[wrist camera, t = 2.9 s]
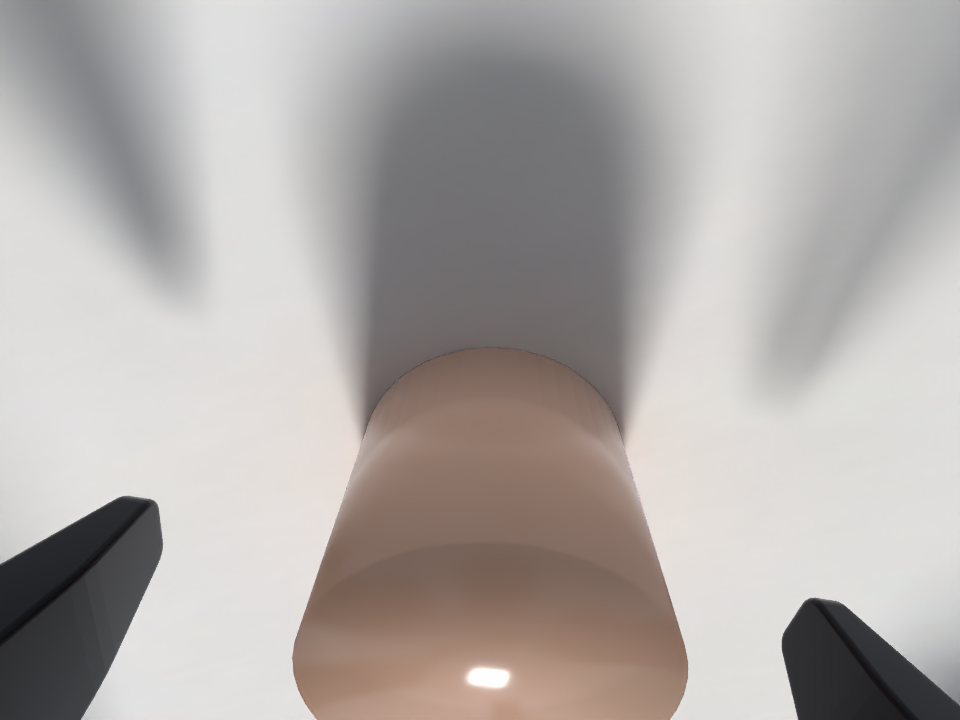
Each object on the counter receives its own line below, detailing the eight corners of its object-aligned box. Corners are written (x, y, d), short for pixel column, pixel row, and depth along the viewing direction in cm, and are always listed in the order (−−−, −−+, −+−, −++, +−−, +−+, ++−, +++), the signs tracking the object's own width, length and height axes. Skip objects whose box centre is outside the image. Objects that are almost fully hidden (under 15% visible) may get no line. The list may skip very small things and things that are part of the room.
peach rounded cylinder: (355, 532, 11) (290, 763, 8) (376, 324, 9) (295, 511, 5) (583, 566, 11) (621, 804, 8) (655, 372, 9) (752, 578, 6)
